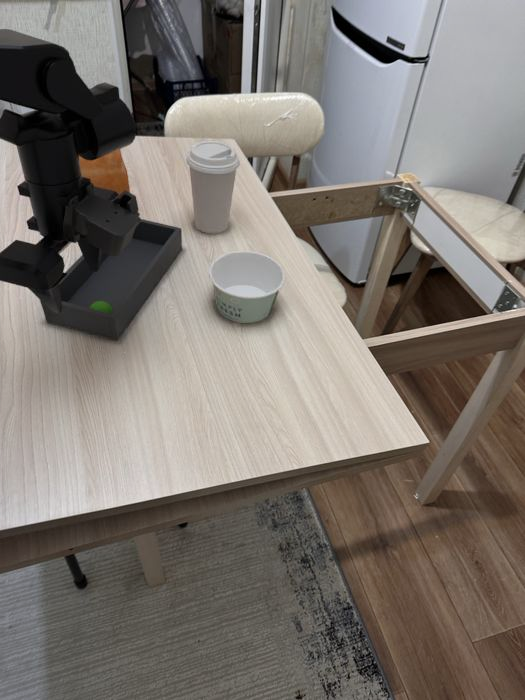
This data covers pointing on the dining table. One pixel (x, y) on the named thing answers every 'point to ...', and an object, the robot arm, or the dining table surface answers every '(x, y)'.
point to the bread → (107, 172)
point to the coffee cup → (212, 184)
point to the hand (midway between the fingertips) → (76, 290)
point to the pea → (102, 306)
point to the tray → (117, 282)
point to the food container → (246, 285)
